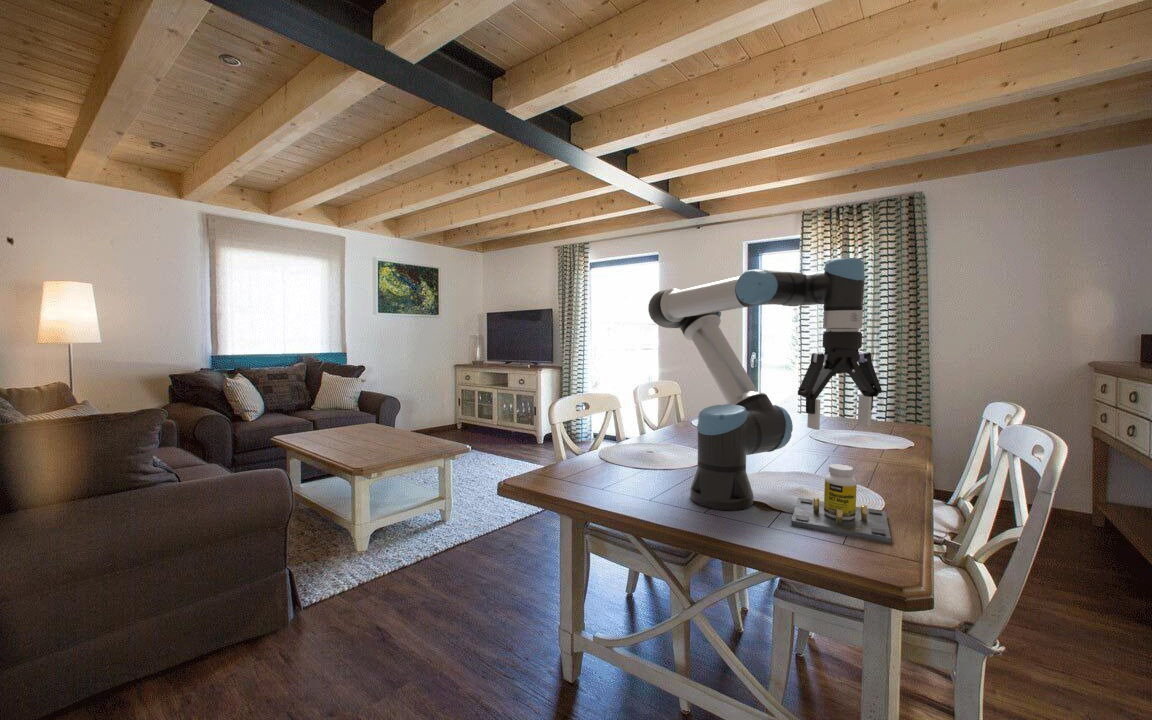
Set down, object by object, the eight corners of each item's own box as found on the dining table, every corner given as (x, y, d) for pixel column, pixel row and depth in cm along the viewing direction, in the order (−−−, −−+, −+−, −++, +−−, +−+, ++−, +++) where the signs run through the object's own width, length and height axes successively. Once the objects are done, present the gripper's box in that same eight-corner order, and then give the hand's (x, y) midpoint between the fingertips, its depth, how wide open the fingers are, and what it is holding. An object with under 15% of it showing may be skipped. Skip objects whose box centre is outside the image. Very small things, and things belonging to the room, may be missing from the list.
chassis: (791, 525, 102) (791, 506, 102) (797, 502, 116) (798, 485, 116) (890, 543, 93) (891, 523, 93) (884, 516, 107) (885, 498, 107)
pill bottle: (825, 518, 103) (826, 469, 102) (822, 508, 109) (823, 461, 108) (858, 522, 101) (859, 472, 100) (852, 512, 106) (854, 464, 106)
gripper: (806, 331, 96) (803, 433, 97) (903, 330, 102) (899, 426, 104) (781, 330, 103) (779, 426, 105) (873, 330, 109) (870, 420, 111)
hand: (839, 426), depth 104 cm, fingers open, 13 cm apart
